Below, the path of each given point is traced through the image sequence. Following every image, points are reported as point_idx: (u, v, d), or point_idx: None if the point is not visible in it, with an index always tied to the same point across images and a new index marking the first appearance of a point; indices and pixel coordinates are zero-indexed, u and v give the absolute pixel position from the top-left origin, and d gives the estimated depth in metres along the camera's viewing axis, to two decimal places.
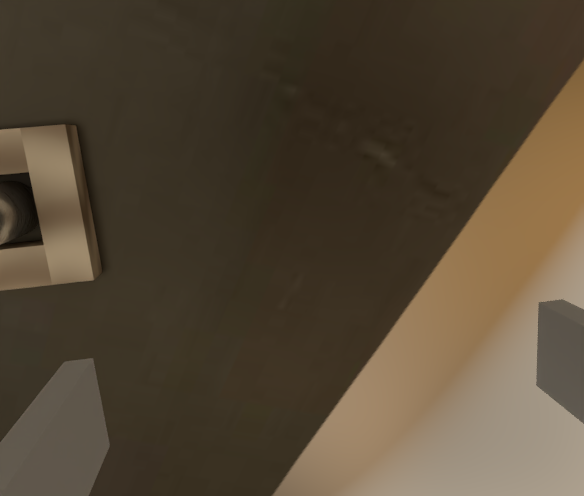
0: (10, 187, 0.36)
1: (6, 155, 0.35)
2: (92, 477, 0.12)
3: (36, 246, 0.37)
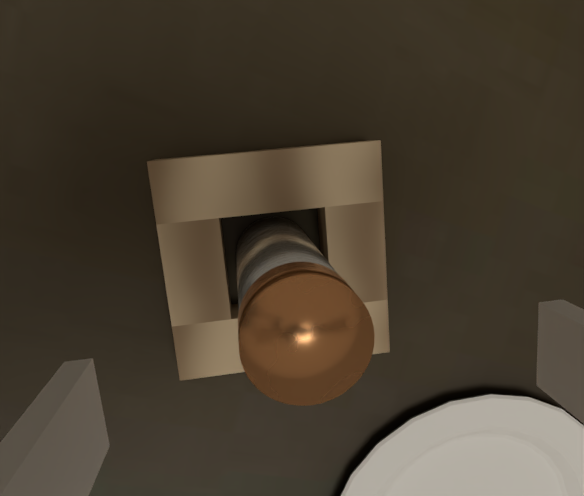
0: (241, 245, 0.26)
1: (195, 246, 0.25)
2: (92, 477, 0.12)
3: (326, 217, 0.26)
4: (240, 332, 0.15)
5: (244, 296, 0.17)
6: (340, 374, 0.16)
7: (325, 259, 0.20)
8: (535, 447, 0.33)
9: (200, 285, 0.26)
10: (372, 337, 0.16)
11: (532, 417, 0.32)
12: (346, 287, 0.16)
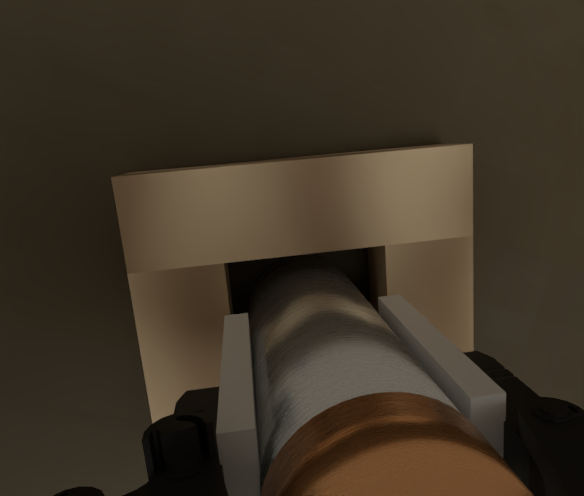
0: (257, 302, 0.17)
1: (188, 305, 0.16)
2: None
3: (386, 261, 0.17)
4: None
5: (273, 464, 0.08)
6: None
7: (411, 355, 0.11)
8: None
9: (195, 364, 0.17)
10: None
11: None
12: (514, 483, 0.07)
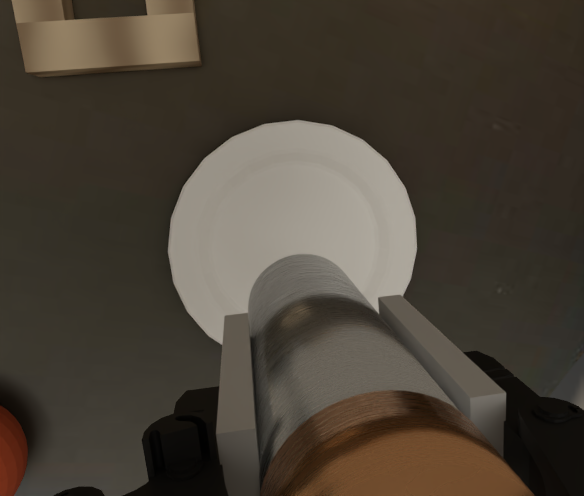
0: (257, 302, 0.17)
1: None
2: None
3: None
4: None
5: (273, 462, 0.08)
6: None
7: (411, 354, 0.11)
8: (345, 178, 0.40)
9: None
10: None
11: (335, 143, 0.38)
12: (513, 481, 0.07)
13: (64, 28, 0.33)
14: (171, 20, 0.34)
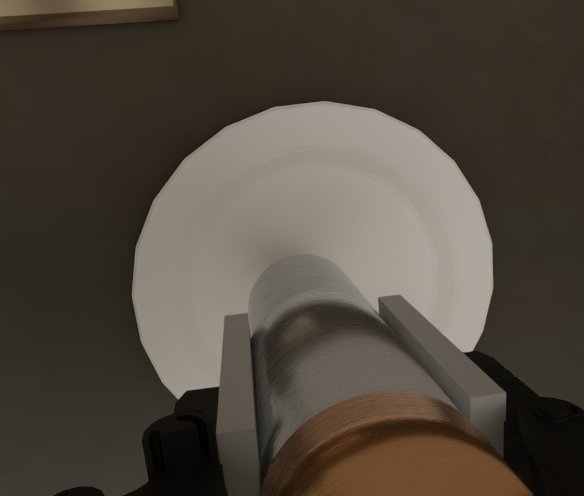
0: (257, 302, 0.17)
1: None
2: None
3: None
4: None
5: (273, 463, 0.08)
6: None
7: (411, 355, 0.11)
8: (392, 187, 0.27)
9: None
10: None
11: (380, 136, 0.26)
12: (513, 482, 0.07)
13: None
14: None
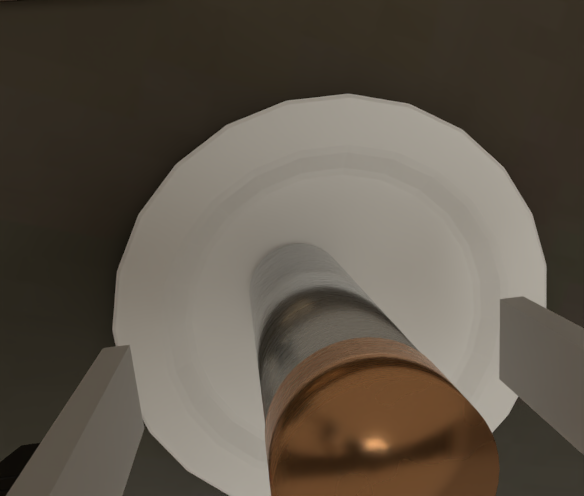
0: (258, 284, 0.19)
1: None
2: (132, 456, 0.13)
3: None
4: (275, 473, 0.09)
5: (276, 394, 0.11)
6: None
7: (388, 318, 0.14)
8: (427, 198, 0.22)
9: None
10: (495, 473, 0.10)
11: (415, 136, 0.21)
12: (456, 394, 0.09)
13: None
14: None
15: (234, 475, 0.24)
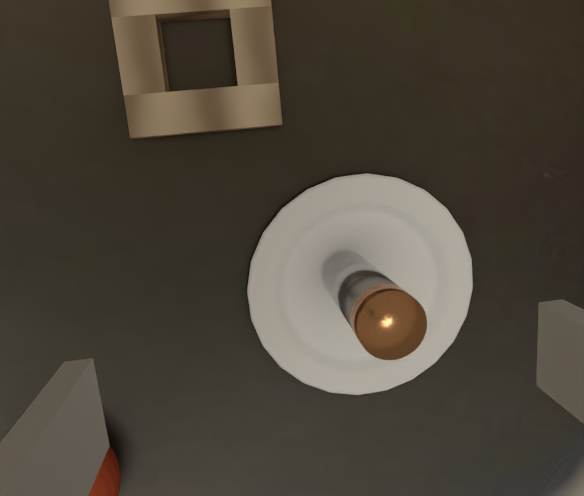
0: (330, 270, 0.40)
1: (139, 34, 0.36)
2: (92, 477, 0.12)
3: (231, 17, 0.37)
4: (358, 320, 0.30)
5: (355, 302, 0.32)
6: (408, 343, 0.31)
7: (392, 281, 0.35)
8: (407, 224, 0.43)
9: (142, 65, 0.37)
10: (426, 324, 0.31)
11: (400, 193, 0.42)
12: (413, 297, 0.30)
13: (165, 99, 0.37)
14: (258, 89, 0.38)
15: (305, 370, 0.45)
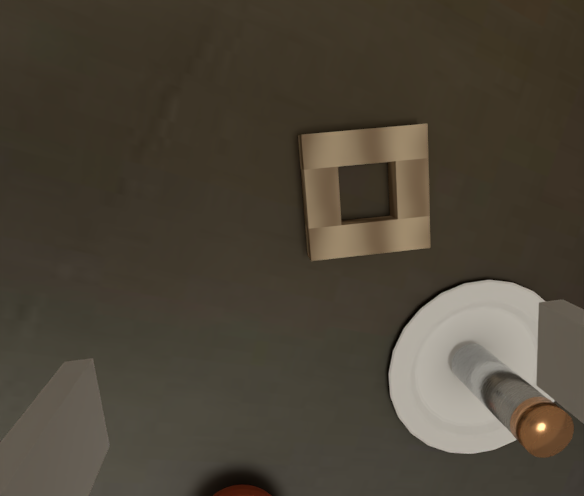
0: (466, 363, 0.50)
1: (324, 182, 0.45)
2: (92, 477, 0.12)
3: (396, 167, 0.46)
4: (525, 429, 0.40)
5: (515, 410, 0.41)
6: (558, 445, 0.40)
7: (533, 387, 0.44)
8: (517, 317, 0.53)
9: (325, 205, 0.46)
10: (572, 431, 0.40)
11: (515, 295, 0.52)
12: (566, 413, 0.40)
13: (340, 230, 0.46)
14: (413, 221, 0.47)
15: (431, 435, 0.54)
